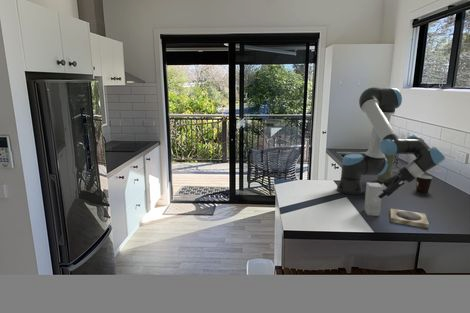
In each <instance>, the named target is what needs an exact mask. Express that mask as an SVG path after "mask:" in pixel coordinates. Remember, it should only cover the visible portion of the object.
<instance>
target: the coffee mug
mask: <svg viewBox="0 0 470 313" xmlns="http://www.w3.org/2000/svg"><path fill="white" fill-rule="evenodd" d="M432 180H433V176H429V175H427V174H426V175H424V174H423V175H422V176H421V175H420V176H419V177H415V182H416V183H415V184H416V187H415V190H416V193H419V194H426V195H427V194H428V193H429V190H430V187H431V183H432Z"/></svg>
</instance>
